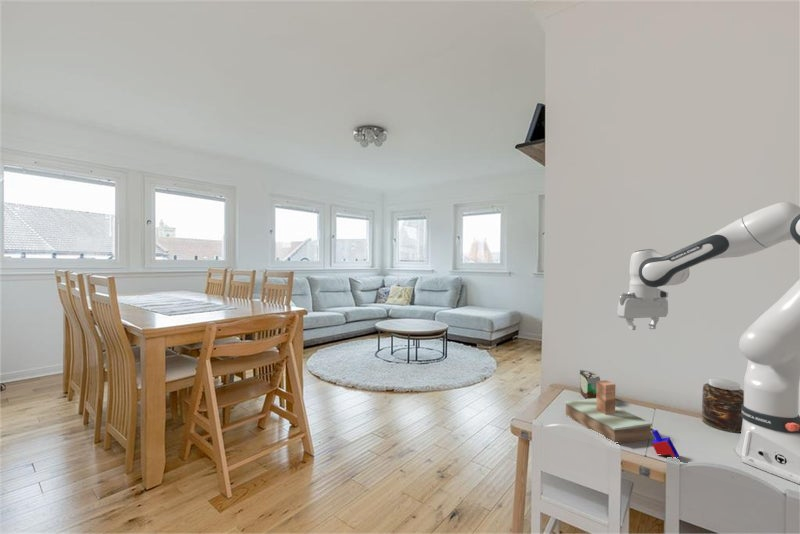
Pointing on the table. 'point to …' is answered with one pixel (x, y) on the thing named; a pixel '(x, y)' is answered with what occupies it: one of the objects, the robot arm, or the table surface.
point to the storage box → (609, 421)
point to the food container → (588, 384)
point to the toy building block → (663, 445)
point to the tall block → (605, 397)
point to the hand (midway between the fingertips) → (642, 329)
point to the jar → (722, 405)
